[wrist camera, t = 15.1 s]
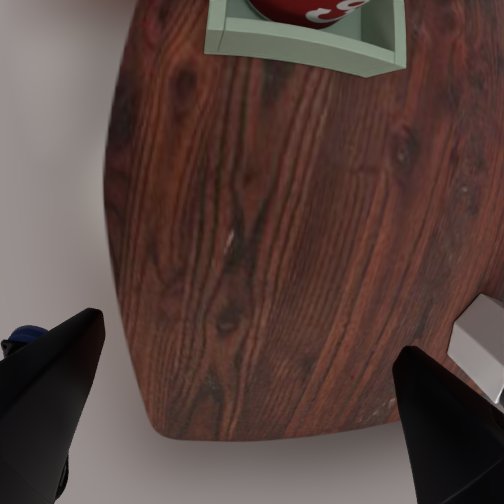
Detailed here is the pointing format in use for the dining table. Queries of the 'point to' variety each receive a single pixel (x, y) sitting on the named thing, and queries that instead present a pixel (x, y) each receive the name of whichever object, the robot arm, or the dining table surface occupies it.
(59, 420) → the robot arm
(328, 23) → the soda can
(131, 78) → the dining table surface
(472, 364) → the jar
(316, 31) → the bin
